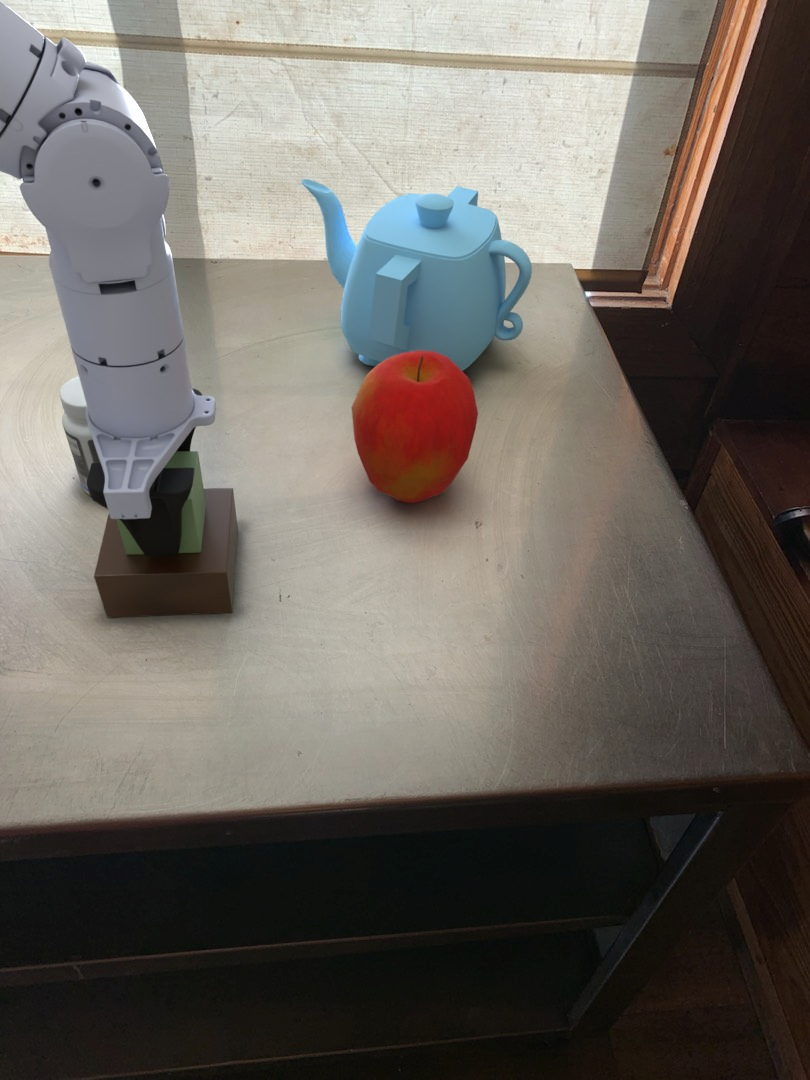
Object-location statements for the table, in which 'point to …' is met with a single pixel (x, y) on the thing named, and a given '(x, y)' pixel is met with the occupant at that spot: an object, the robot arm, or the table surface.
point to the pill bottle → (78, 429)
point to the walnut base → (173, 569)
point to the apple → (414, 424)
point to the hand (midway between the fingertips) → (166, 523)
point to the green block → (190, 512)
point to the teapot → (423, 276)
